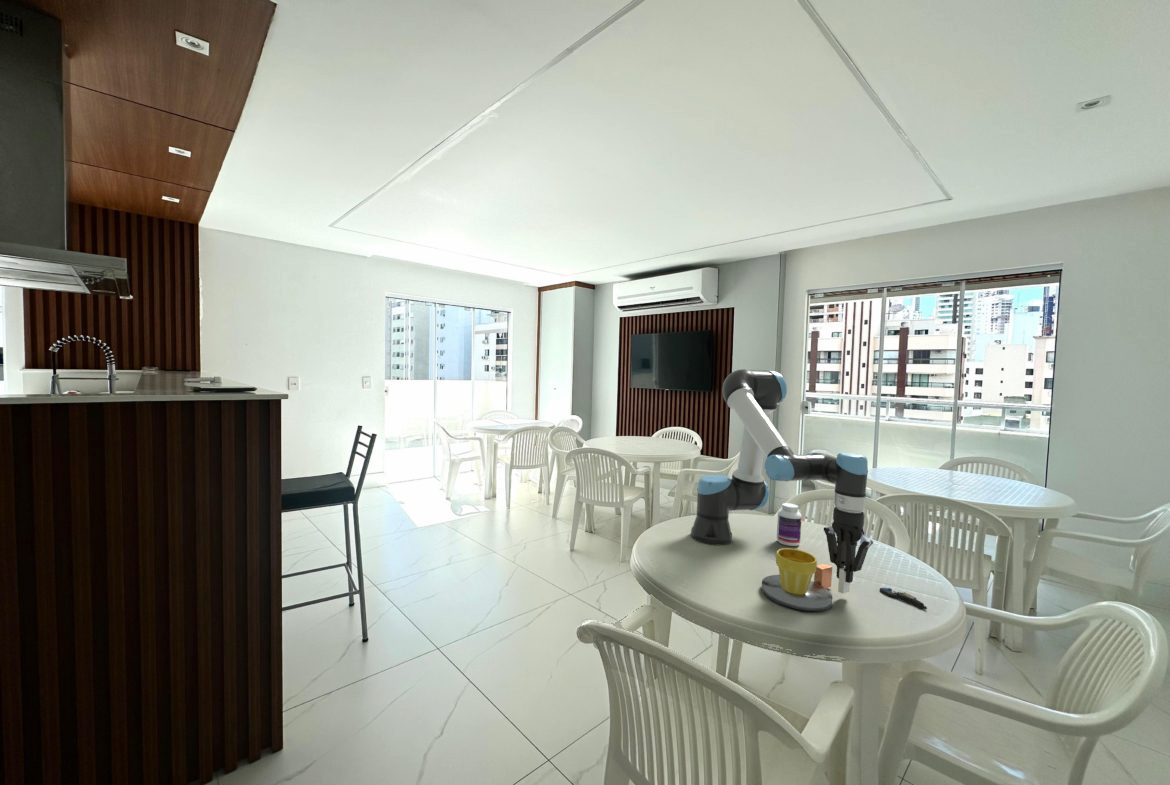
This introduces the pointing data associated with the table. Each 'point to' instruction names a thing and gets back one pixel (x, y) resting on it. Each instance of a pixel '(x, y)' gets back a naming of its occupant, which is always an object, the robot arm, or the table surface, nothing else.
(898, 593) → the micrometer
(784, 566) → the plant pot
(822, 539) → the table surface
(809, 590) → the grey round piece
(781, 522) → the pill bottle
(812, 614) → the table surface
